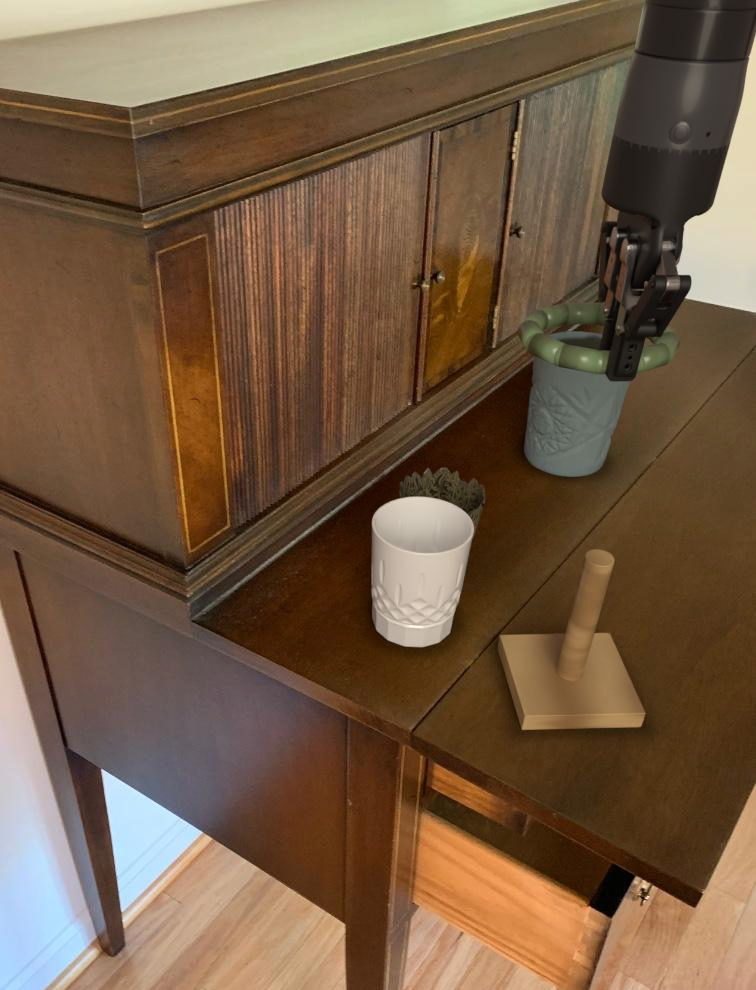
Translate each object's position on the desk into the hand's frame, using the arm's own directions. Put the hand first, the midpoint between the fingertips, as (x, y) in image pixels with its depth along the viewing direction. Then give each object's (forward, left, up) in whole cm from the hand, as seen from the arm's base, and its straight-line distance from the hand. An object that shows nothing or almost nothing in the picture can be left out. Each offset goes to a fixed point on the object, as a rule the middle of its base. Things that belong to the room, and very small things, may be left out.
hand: (615, 371), depth 72 cm
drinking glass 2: (-4, -19, -19) cm, 27 cm away
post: (+5, +16, -19) cm, 25 cm away
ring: (0, -5, +1) cm, 5 cm away
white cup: (+16, +8, -19) cm, 26 cm away
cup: (+13, 0, -19) cm, 23 cm away
